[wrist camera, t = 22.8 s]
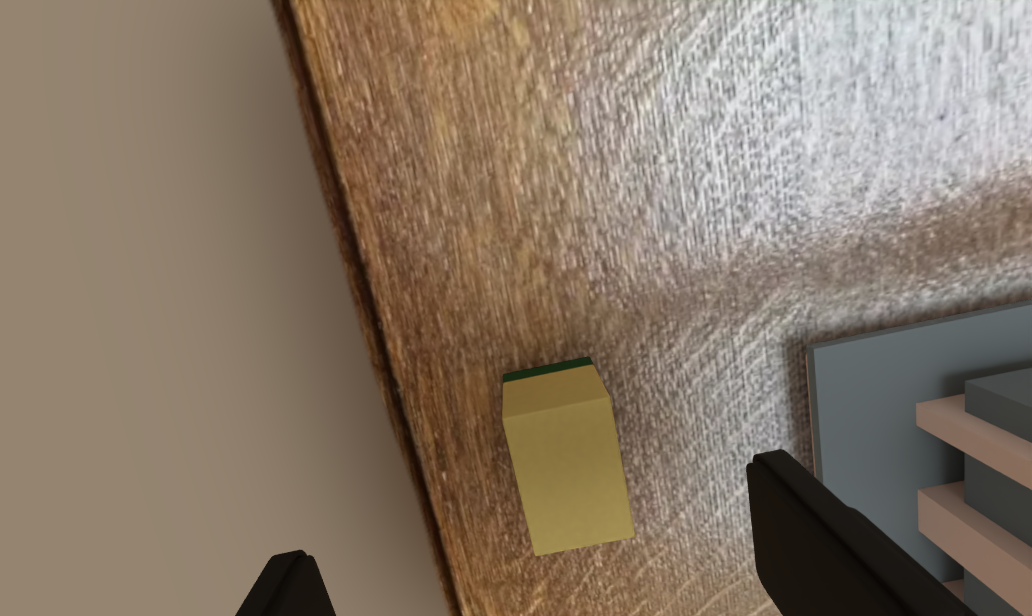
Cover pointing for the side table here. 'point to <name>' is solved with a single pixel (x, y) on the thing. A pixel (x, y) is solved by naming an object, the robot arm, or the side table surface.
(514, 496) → the side table surface
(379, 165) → the side table surface
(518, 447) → the sponge
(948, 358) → the desk lamp
